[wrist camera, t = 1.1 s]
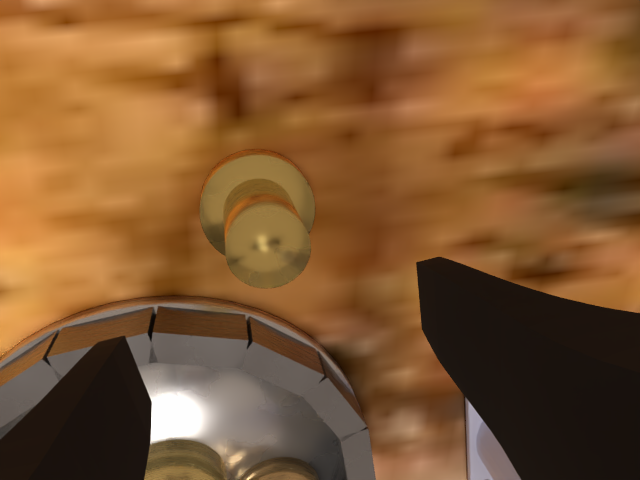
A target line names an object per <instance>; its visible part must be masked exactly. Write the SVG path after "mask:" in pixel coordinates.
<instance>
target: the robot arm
mask: <svg viewBox="0 0 640 480" xmlns="http://www.w3.org/2000/svg"><path fill="white" fill-rule="evenodd" d="M416 264H417V276H418V288H419V299H420V311H421V322H422V330H423V332H424V334H425V336H426V338H427V340H428V342H429V344H430V345H431V347H432V349H433V351H434V353H435V354H436V356H437V358H438V360H439V361H440V363H441V364H442V366H443V367H444V368H445V370H446V371H447V373H448V374H449V375H450V377H451V378H452V379H453V381H454V382H455V383H456V385H457V386H458V388H459V389H460V390H461V392H462V393H463V394H464V396H465V404H466V436H467V467H468V480H640V313H634V312H628V311H621V310H615V309H610V308H605V307H599V306H594V305H590V304H586V303H581V302H577V301H573V300H568V299H564V298H561V297H557V296H553V295H550V294H546V293H543V292H540V291H536V290H533V289H530V288H527V287H524V286H521V285H518V284H515V283H512V282H509V281H506V280H503V279H500V278H498V277H495V276H492V275H489V274H487V273H484V272H481V271H479V270H476V269H474V268H471V267H468V266H466V265H463V264H460V263H457V262H455V261H452V260H449V259H446V258H442V257H436V258H432V259H428V260H424V261H420V262H416ZM151 421H152V401H151V399H150V396H149V394H148V391H147V389H146V386H145V384H144V382H143V379H142V377H141V374H140V372H139V369H138V367H137V364H136V362H135V359H134V357H133V354H132V352H131V350H130V347H129V345H128V342H127V340H126V337H125V335H124V336H120V337H116V338H112V339H108V340H104V341H100V342H97V343H96V344H95V345H94V346H93V347H92V348H91V349H90V350H89V351H88V352H87V353H86V354H85V355H84V356H83V357H82V358H81V359H80V360H79V361H78V362H77V363H76V364H75V365H74V366H73V367H72V368H71V369H70V370H69V372H68V373H67V374H66V375H65V376H64V377H63V378H62V379H61V380H60V381H59V382H58V383H57V384H56V385H55V386H54V387H53V388H52V389H51V390H50V391H49V392H48V394H47V395H46V396H45V397H44V398H43V399H42V400H41V401H40V402H39V403H38V404H37V405H36V406H35V407H34V408H33V409H32V410H31V411H30V412H29V413H27V414H26V415H25V416H24V417H23V418H22V419H21V420H20V421H19V422H18V423H17V424H16V425H15V426H14V427H13V428H12V429H11V430H10V431H9V432H8V433H7V434H6V435H5V436H4V437H3V438H2V439H0V480H144V477H145V472H146V466H147V460H148V454H149V448H150V442H151Z"/></svg>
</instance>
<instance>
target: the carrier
mask: <svg viewBox="0 0 640 480" xmlns="http://www.w3.org/2000/svg"><path fill="white" fill-rule="evenodd" d="M124 335H125V337H126V340H127V342H128V345H129V347H130V350H131V352H132V354H133V357H134V359H135V362H136V364H137V367H138V369H139V372H140V374H141V377H142V379H143V382H144V384H145V386H146V389H147V391H148V394H149V396H150V399H151V401H152V421H151V442H150V448H149V454H148V460H147V466H146V472H145V477H144V480H376V478H375V471H374V464H373V458H372V451H371V444H370V437H369V431H368V427H367V425H366V422H365V420H364V417H363V415H362V412H361V409H360V406H359V404H358V401H357V399H356V396H355V394H354V392H353V389H352V387H351V385H350V383H349V380H348V378H347V377H346V375H345V374H344V372H343V371H342V369H341V368H340V366H339V365H338V363H337V362H336V361H335V360H334V359H333V358H332V356H331V355H330V354H329V353H328V352H327V351H326V350H325V349H324V348H323V347H322V346H321V345H320V344H319V343H317V342H316V341H315V340H314V339H312V338H311V337H310V336H309V335H307V334H306V333H305V332H303V331H302V330H300V329H298V328H296V327H295V326H293V325H291V324H290V323H288V322H286V321H285V320H283V319H280V318H278V317H276V316H273V315H271V314H269V313H266V312H264V311H262V310H259V309H256V308H252V307H249V306H245V305H242V304H238V303H235V302H230V301H224V300H218V299H211V298H205V297H188V296H162V297H146V298H138V299H132V300H126V301H120V302H115V303H109V304H106V305H103V306H99V307H96V308H92V309H89V310H85V311H82V312H79V313H77V314H74V315H72V316H69V317H67V318H65V319H62V320H60V321H58V322H55V323H53V324H51V325H49V326H47V327H45V328H44V329H42V330H40V331H38V332H37V333H35V334H33V335H31V336H30V337H28V338H26V339H25V340H23V341H22V342H21V343H19V344H18V345H17V346H15V347H14V348H13V349H11V350H10V351H9V352H7V353H6V354H5V355H4V356H2V357H1V358H0V439H2V438H3V437H4V436H5V435H6V434H7V433H8V432H9V431H10V430H11V429H12V428H13V427H14V426H15V425H16V424H17V423H18V422H19V421H20V420H21V419H22V418H23V417H24V416H25V415H26V414H27V413H29V412H30V411H31V410H32V409H33V408H34V407H35V406H36V405H37V404H38V403H39V402H40V401H41V400H42V399H43V398H44V397H45V396H46V395H47V394H48V392H49V391H50V390H51V389H52V388H53V387H54V386H55V385H56V384H57V383H58V382H59V381H60V380H61V379H62V378H63V377H64V376H65V375H66V374H67V373H68V372H69V370H70V369H71V368H72V367H73V366H74V365H75V364H76V363H77V362H78V361H79V360H80V359H81V358H82V357H83V356H84V355H85V354H86V353H87V352H88V351H89V350H90V349H91V348H92V347H93V346H94V345H95V344H96V343H97V342H100V341H104V340H108V339H112V338H116V337H120V336H124Z"/></svg>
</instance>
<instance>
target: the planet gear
mask: <svg viewBox="0 0 640 480" xmlns="http://www.w3.org/2000/svg"><path fill="white" fill-rule="evenodd" d="M314 217H315V201H314V196H313V193H312V190H311V188H310V186H309V184H308V182H307V180H306V179H305V177H304V176H303V174H302V173H301V172H300V170H299V169H298V168H297V167H296V166H295V165H294V164H293V163H292V162H291V161H290V160H288V159H287V158H285V157H284V156H282V155H280V154H277V153H275V152H272V151H268V150H261V149H251V150H244V151H240V152H237V153H235V154H232V155H230V156H228V157H226V158H225V159H223V160H222V161H221V162H219V163H218V164H217V165H216V166H215V167H214V168H213V169H212V171H211V172H210V173H209V175H208V176H207V178H206V180H205V182H204V185H203V187H202V192H201V199H200V220H201V225H202V228H203V231H204V233H205V235H206V237H207V239H208V240H209V241H210V243H211V244H212V245H213V246H214V247H215V248H216V249H217V250H218V251H219V252H220V253H221V254H223V255H225V256H226V260H227V263H228V265H229V267H230V269H231V271H232V272H233V274H234V275H235V276H236V277H237V278H238V279H240V280H241V281H242V282H244V283H246V284H248V285H250V286H253V287H257V288H275V287H279V286H282V285H285V284H287V283H289V282H291V281H292V280H294V279H295V278H296V277H297V276H298V275H299V274H300V273H301V272H302V271H303V270H304V268H305V266H306V265H307V263H308V260H309V257H310V252H311V243H310V238H309V232H310V230H311V228H312V225H313V222H314Z"/></svg>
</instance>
